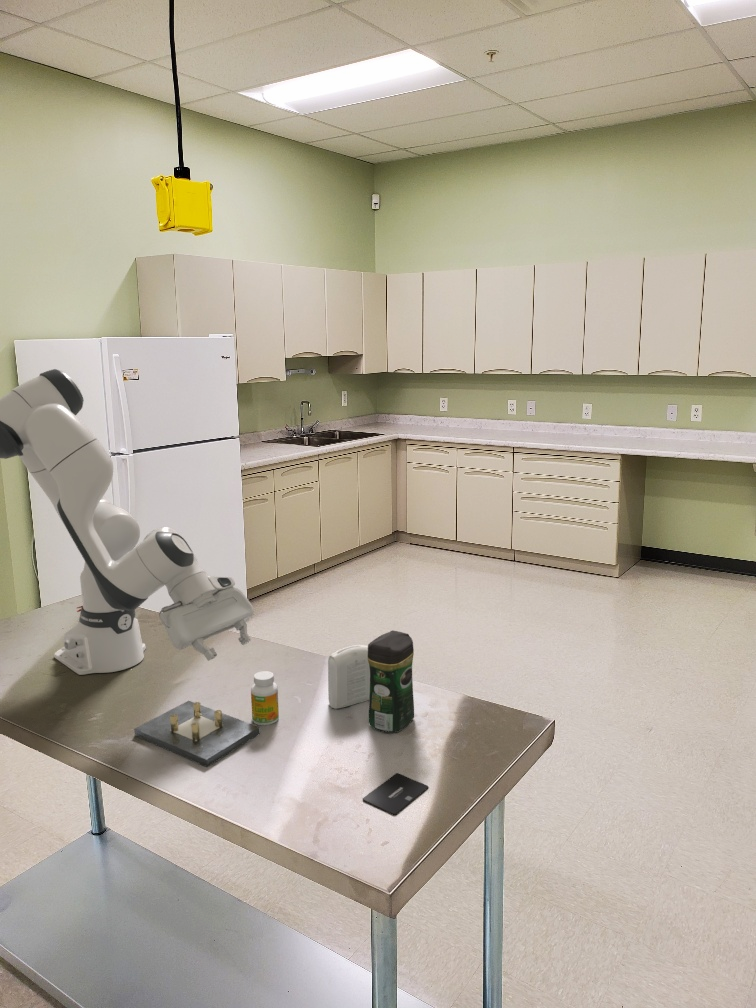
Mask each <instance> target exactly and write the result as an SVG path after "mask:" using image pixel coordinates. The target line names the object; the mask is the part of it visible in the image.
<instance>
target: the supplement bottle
mask: <svg viewBox="0 0 756 1008" xmlns="http://www.w3.org/2000/svg"><path fill="white" fill-rule="evenodd" d="M253 683H254V684H252V685H251V688H250V697H251V698H250V699H251V703H250V704H251V718H252V722H253V723H254V724H255V725H257V726H269V725H273V724H275V723H276V722H278V721H279V718H280V714H279V688H278V685H277V683H276V682H275V675H274V673H273V672H271V671H267V670H263V671H258V672H256V673H254V675H253Z"/></svg>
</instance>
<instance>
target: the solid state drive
mask: <svg viewBox="0 0 756 1008" xmlns="http://www.w3.org/2000/svg"><path fill="white" fill-rule="evenodd" d="M427 790H429V786H428V785H427V784H424V783H422V782H419V781H418V780H415V779H413V778H411V777H408V776H406V775H404V774H401V773H399V772H396V773H394V774H392V776H390V777H389V778H387V780H385V781H384V782H382V783H381V784H379V785H378V786H377V787H376V788H374V789H373V790H372V791H370V792H369V793H367V795H366V796H364V797H362V802H363V803H366V804H369V805H370V806H372V807H374V808H377V809H378V810H379V809H380V810H381V811H383V812H386V813H388V814H390V815H392V816H397V815H399V813H400V812H402V811H403V810H404V809H406V807H408V806H410V804H412V803H413V802H414V801H415V800H416V799H417V798H419V797H420V796H422V795H423V794H424V793H425V792H426V791H427Z"/></svg>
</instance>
